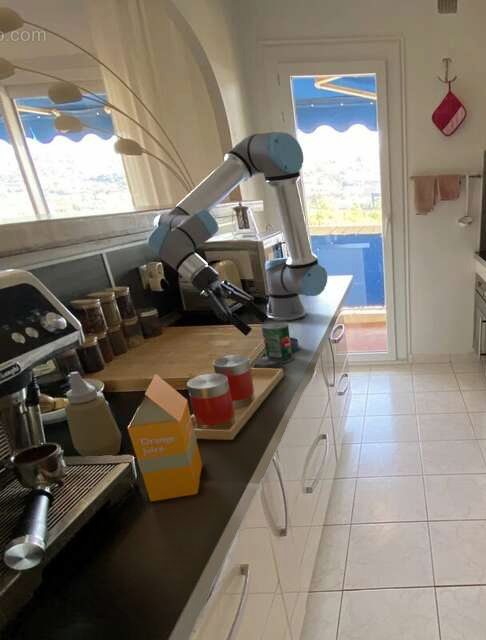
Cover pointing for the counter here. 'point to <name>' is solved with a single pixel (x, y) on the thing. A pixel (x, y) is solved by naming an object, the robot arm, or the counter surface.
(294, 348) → the grey tin
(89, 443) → the squeeze bottle
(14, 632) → the counter surface
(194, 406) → the label can
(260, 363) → the grey tin
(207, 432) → the tray
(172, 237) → the robot arm
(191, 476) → the orange juice
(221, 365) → the can label
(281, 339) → the canned tomato
